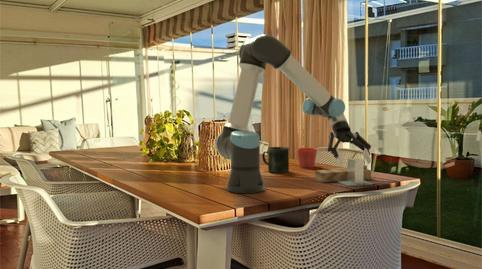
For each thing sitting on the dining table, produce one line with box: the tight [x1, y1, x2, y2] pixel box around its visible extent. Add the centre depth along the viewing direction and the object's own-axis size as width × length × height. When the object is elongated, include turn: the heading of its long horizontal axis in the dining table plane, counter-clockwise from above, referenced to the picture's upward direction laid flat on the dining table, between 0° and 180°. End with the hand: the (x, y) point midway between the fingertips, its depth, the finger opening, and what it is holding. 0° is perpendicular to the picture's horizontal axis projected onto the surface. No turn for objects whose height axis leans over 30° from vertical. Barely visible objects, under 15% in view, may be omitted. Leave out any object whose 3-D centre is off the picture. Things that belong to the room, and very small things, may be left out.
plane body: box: [314, 164, 372, 183], centre depth 186 cm, size 24×7×6 cm, turn 104°
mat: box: [337, 179, 374, 187], centre depth 175 cm, size 12×9×1 cm
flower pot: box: [296, 147, 318, 168], centre depth 223 cm, size 11×11×10 cm
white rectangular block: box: [347, 157, 365, 184], centre depth 175 cm, size 4×6×10 cm, turn 14°
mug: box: [261, 146, 290, 174], centre depth 209 cm, size 11×15×12 cm
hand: (355, 162), depth 176 cm, fingers open, 13 cm apart
